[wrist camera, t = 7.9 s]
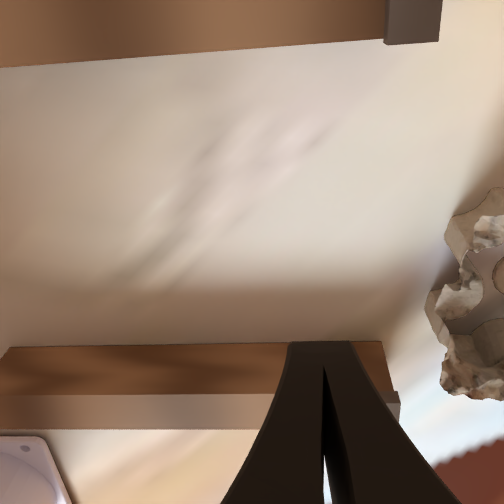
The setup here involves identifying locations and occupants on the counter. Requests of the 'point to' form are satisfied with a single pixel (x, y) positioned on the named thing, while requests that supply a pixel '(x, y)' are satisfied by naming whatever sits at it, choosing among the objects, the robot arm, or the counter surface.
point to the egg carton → (471, 306)
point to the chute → (192, 355)
